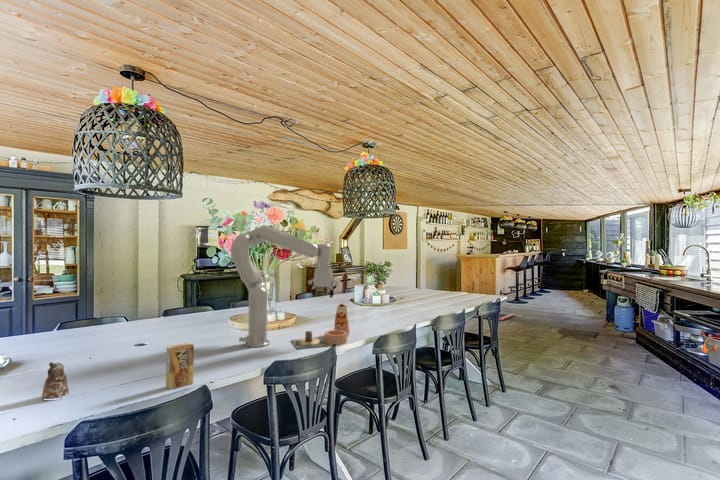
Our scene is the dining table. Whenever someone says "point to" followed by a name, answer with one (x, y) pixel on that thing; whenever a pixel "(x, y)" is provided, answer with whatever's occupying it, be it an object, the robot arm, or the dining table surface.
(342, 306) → the milk carton
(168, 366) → the candy box
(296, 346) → the mat
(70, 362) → the dining table surface
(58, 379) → the figurine
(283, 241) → the robot arm
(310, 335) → the lid
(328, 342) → the bowl
